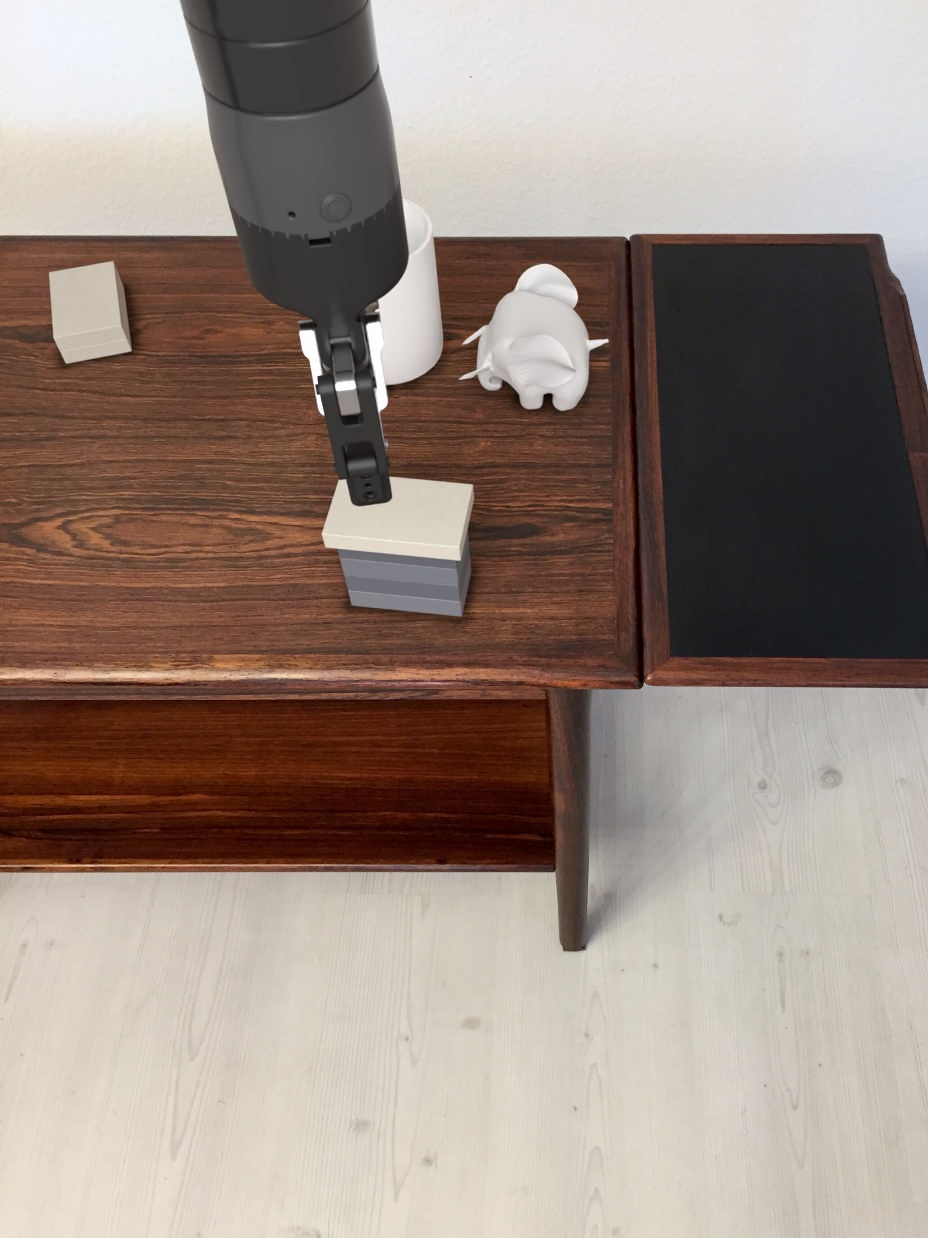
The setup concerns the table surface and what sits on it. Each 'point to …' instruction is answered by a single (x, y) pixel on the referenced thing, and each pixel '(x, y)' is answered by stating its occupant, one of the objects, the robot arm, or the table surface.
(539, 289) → the elephant figurine
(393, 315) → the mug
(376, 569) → the grey rectangular block
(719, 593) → the table surface
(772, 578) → the table surface
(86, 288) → the cream rectangular box
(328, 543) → the off-white rectangular slab
